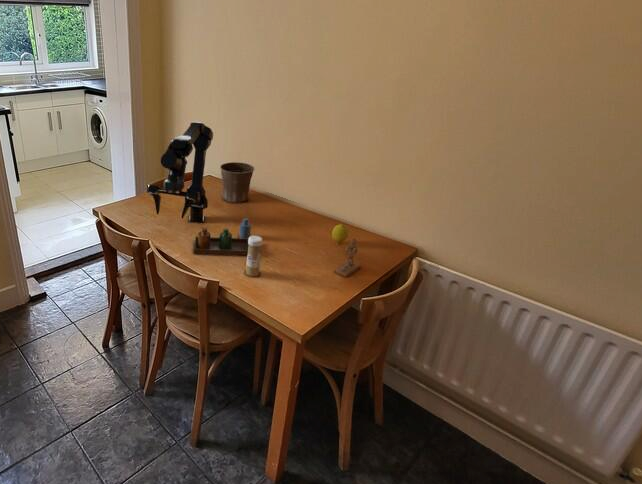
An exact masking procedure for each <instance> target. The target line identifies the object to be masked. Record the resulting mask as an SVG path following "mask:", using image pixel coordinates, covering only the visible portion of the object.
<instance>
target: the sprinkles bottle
mask: <svg viewBox="0 0 642 484" xmlns="http://www.w3.org/2000/svg"><path fill="white" fill-rule="evenodd" d="M248 244H249V246H248V256H246V268H245V269H246V270H245V274H246V275H247V276H250V277H257V276H259V274H260V265H261V257H262V256H261V255H262V245H263V238H262V237H261V236H259V235H250V237H249V239H248Z"/></svg>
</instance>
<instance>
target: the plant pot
mask: <svg viewBox="0 0 642 484" xmlns="http://www.w3.org/2000/svg"><path fill="white" fill-rule="evenodd" d="M219 169H220V173H221V174H220V175H221V183H222V184H221V185H222V187H221V188H222V199H223V200H224V201H227V202H228V203H232V204H233V203H234V204H239V203H241V204H242V203H243V202H247V200H248V198H249V193H250V188H251V187H250V186H251V181H252V178H253V173H254V172H255V166H253V165H252V164H249V163H247V162H239V161H237V162H236V161H235V162H232V161H231V162H225V163H222V164H221V165H220V166H219Z"/></svg>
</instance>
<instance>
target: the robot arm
mask: <svg viewBox="0 0 642 484" xmlns="http://www.w3.org/2000/svg"><path fill="white" fill-rule="evenodd" d="M213 139H214V132H213V130H212V129H211V128H210V127H209V126H207V125H205V123H204V122H203V121H201V122H199V121H191V122H190V124H189V126H188V127H187V128H186V130H185V131H184V132H183V134H182V135H180V136H175V137H174V138H173V139H172V140H171V141H170V143H169V145H168V147H167V148H166V151H165V153H163V154H162V155H161V157H160V165H161V166H162V167H163V168H165V169H167V170H168V174H167V178H165V180H164V181H163V188H162V187H161V186H159V185H156V184H148V186H147V188H146V193H149V195H150V196H152V198H153V202H154V206H155V212H156V215H159V214H160V208H161V201H162V196H161V195H160V194H163V195H171V196H176V197H182V198H183V197H184V204H183V209H182V211H181V219H184V217H185V215H186V214H187V212H188V209H189V216H188V222H190V223H204V222H205V215H204V210H205V209H208V206H209V201H208V198H207V196H206V190H205V188H204V186H203V183H204V182H203V181H204V175H205V165H206V155H207V150H208V149H209V147H210V146H211V145H212V141H213ZM193 150H194V157H193V167H192V174H191V175H192V176H191V184H190V185H189V186H188V187H187V189H186V191H183V190H184V188H185V175H186V170H187V164H188V160H187V159H186V158H188V157H189V156H190V155H191V154H192V152H193Z"/></svg>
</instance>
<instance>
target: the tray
mask: <svg viewBox="0 0 642 484" xmlns="http://www.w3.org/2000/svg"><path fill="white" fill-rule="evenodd" d="M248 246H249V244H248V239H245V238H239V237H232V243H231V249H229V250H223V249H220V248H219V237H215V236H214V237H212V236H210V248H209V249H200V248H199V247H198V236H195V237H194V246H193V254H194V255H213V256H215V255H216V256H238V257H242V256H243V257H247V256H248Z"/></svg>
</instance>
